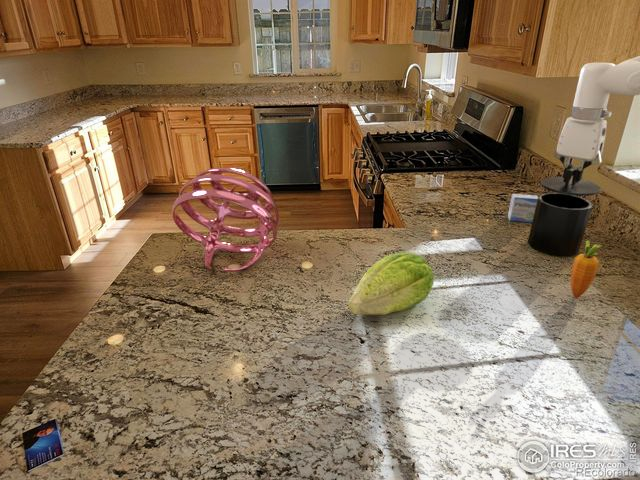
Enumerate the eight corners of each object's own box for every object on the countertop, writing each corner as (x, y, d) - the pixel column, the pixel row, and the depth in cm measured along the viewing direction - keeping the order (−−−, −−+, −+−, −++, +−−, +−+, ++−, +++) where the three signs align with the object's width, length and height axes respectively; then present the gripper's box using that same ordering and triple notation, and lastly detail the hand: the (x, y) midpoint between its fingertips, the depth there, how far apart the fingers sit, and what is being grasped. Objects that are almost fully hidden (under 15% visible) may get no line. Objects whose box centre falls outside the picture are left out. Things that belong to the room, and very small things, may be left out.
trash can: (586, 247, 126) (599, 201, 120) (566, 261, 118) (580, 213, 112) (540, 232, 136) (550, 189, 129) (519, 245, 128) (529, 199, 121)
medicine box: (509, 221, 144) (514, 197, 140) (507, 216, 148) (512, 192, 144) (534, 223, 142) (540, 199, 138) (531, 218, 146) (537, 194, 142)
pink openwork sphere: (229, 231, 91) (255, 137, 105) (132, 242, 102) (167, 155, 116) (286, 285, 113) (302, 202, 126) (201, 289, 124) (224, 212, 137)
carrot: (564, 290, 105) (580, 235, 99) (587, 296, 103) (605, 240, 96) (563, 300, 101) (579, 244, 95) (587, 306, 99) (605, 249, 93)
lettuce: (326, 283, 98) (355, 278, 86) (396, 248, 108) (431, 240, 96) (348, 334, 98) (380, 337, 86) (416, 295, 108) (454, 292, 96)
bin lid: (608, 189, 118) (614, 168, 115) (587, 202, 110) (592, 179, 107) (553, 177, 128) (558, 158, 126) (530, 188, 120) (534, 167, 117)
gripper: (627, 115, 107) (607, 185, 115) (562, 109, 118) (548, 173, 126) (616, 119, 103) (596, 192, 111) (550, 112, 113) (536, 178, 121)
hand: (570, 181), depth 118 cm, fingers closed on bin lid, 1 cm apart
